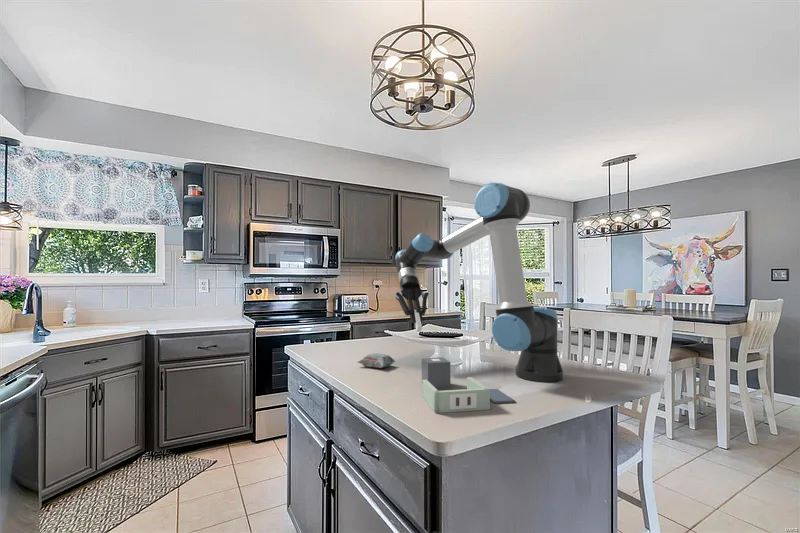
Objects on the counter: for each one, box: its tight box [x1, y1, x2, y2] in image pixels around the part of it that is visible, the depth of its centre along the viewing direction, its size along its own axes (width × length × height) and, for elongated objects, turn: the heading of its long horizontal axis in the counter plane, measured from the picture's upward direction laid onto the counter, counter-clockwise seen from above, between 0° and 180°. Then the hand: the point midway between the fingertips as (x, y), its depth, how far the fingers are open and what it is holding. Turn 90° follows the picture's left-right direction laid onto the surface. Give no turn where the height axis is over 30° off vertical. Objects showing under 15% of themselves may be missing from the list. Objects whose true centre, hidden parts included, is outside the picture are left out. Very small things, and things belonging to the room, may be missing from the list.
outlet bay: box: [421, 376, 491, 414], centre depth 103 cm, size 14×12×5 cm
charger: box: [421, 357, 451, 390], centre depth 119 cm, size 7×7×8 cm
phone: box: [489, 388, 517, 405], centre depth 109 cm, size 6×12×1 cm, turn 10°
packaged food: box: [356, 352, 396, 369], centre depth 145 cm, size 9×12×5 cm
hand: (419, 329), depth 137 cm, fingers closed
